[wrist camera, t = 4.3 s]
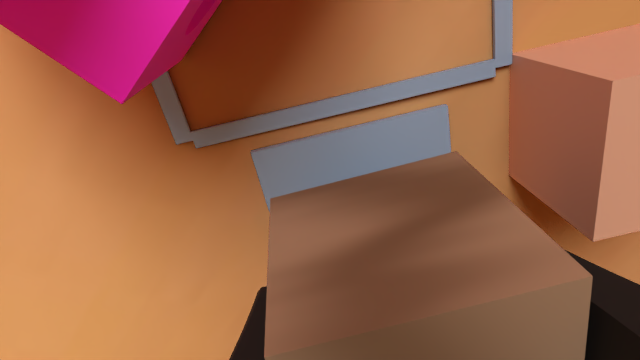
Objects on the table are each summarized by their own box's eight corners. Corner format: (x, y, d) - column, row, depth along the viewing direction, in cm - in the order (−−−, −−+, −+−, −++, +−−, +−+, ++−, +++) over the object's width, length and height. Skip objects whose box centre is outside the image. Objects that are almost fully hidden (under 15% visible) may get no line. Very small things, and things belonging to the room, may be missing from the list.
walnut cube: (456, 151, 10) (593, 276, 6) (468, 293, 13) (574, 463, 8) (270, 198, 10) (263, 357, 6) (314, 331, 13) (335, 521, 8)
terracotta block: (642, 22, 12) (806, 36, 8) (623, 147, 13) (751, 205, 10) (508, 53, 12) (612, 81, 8) (507, 174, 13) (592, 241, 10)
